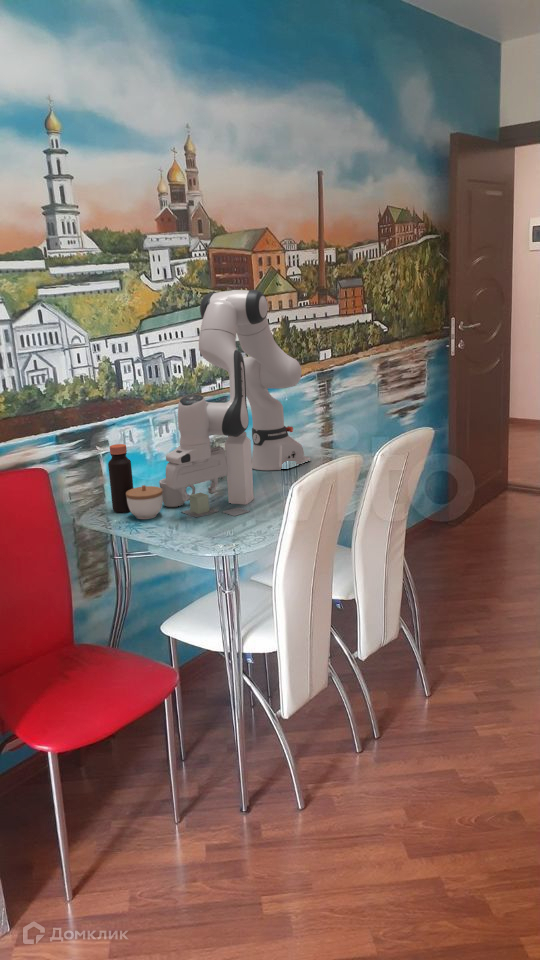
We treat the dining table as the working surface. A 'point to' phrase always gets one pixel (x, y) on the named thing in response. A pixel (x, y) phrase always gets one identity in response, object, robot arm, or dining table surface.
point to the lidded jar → (145, 501)
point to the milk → (239, 469)
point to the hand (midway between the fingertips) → (199, 496)
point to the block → (199, 503)
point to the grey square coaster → (236, 511)
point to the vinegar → (120, 477)
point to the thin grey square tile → (201, 513)
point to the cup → (172, 495)
